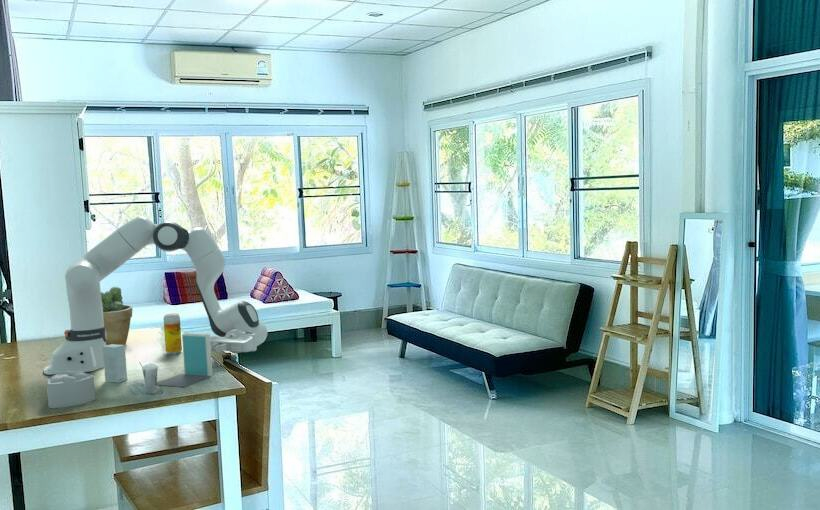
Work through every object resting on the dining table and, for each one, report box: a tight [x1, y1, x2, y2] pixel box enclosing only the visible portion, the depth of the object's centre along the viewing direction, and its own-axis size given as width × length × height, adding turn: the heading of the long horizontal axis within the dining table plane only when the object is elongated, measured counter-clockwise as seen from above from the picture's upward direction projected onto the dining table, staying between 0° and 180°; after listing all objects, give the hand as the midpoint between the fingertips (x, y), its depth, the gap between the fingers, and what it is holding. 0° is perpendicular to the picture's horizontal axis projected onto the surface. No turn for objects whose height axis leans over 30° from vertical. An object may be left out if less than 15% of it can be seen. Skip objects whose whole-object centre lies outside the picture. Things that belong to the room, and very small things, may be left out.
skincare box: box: [103, 344, 128, 384], centre depth 249 cm, size 6×4×12 cm
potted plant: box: [101, 286, 133, 346], centre depth 308 cm, size 18×19×25 cm
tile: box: [181, 332, 213, 377], centre depth 253 cm, size 2×10×14 cm, turn 68°
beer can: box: [163, 313, 183, 355], centre depth 290 cm, size 6×6×15 cm
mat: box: [157, 373, 211, 388], centre depth 246 cm, size 14×12×1 cm
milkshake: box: [139, 361, 158, 395], centre depth 232 cm, size 4×5×10 cm
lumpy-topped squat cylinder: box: [46, 371, 96, 409], centre depth 226 cm, size 10×13×9 cm
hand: (213, 348), depth 262 cm, fingers closed
